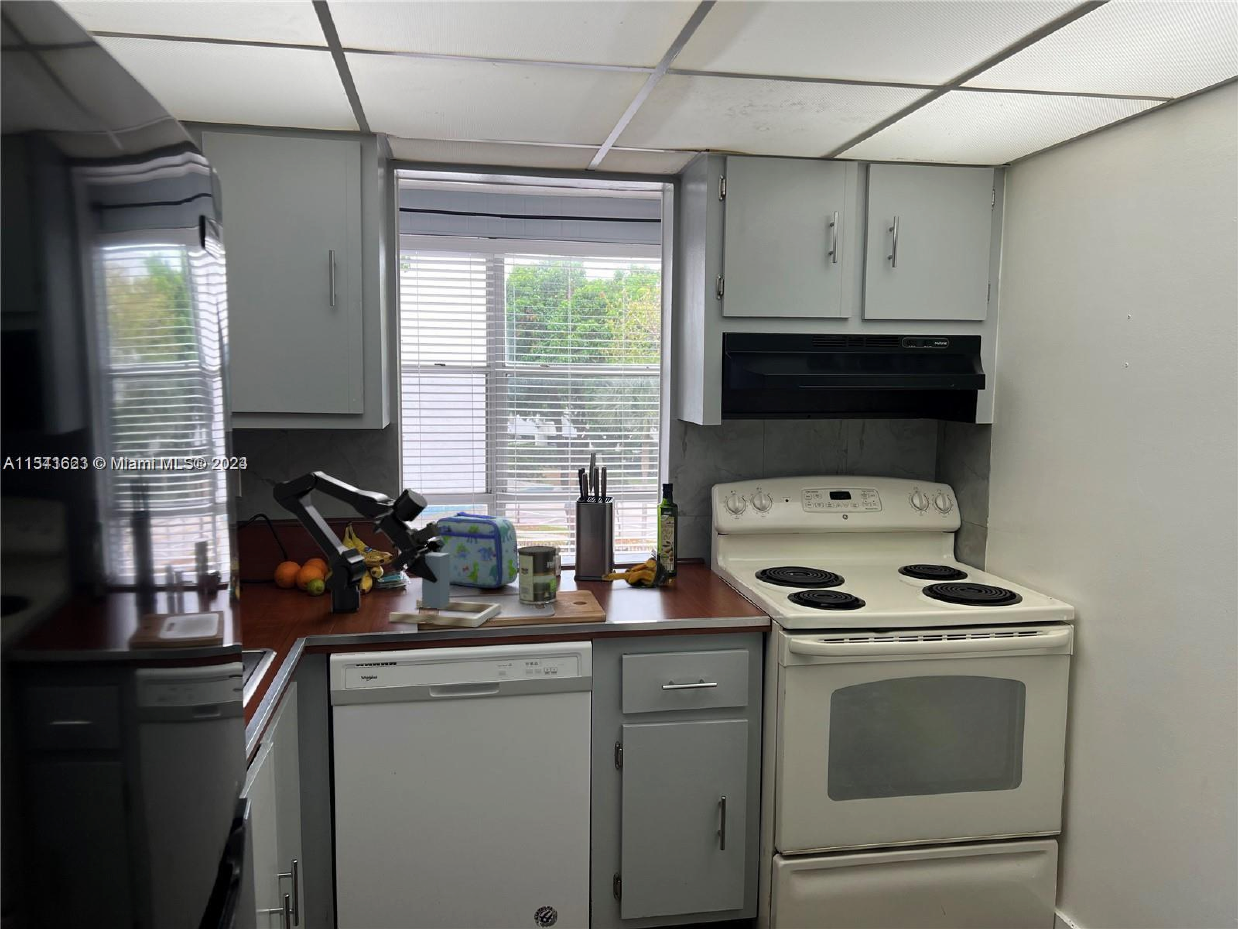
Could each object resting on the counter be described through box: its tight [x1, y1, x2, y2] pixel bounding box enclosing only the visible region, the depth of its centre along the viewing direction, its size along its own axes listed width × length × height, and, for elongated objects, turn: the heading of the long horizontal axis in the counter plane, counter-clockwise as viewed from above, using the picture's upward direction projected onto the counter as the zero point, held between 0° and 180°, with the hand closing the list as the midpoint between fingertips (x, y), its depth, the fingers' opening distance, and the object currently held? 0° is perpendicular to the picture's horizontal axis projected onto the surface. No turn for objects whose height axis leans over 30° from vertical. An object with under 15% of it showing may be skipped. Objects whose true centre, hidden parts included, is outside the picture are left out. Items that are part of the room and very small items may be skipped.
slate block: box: [421, 552, 451, 608], centre depth 219 cm, size 5×5×13 cm
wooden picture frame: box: [388, 598, 502, 628], centre depth 219 cm, size 23×15×2 cm, turn 75°
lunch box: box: [434, 511, 519, 589], centre depth 255 cm, size 26×11×21 cm, turn 56°
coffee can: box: [517, 545, 557, 605], centre depth 235 cm, size 10×10×14 cm
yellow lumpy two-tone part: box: [601, 556, 670, 589], centre depth 250 cm, size 9×11×18 cm
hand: (441, 579), depth 218 cm, fingers closed on slate block, 5 cm apart
